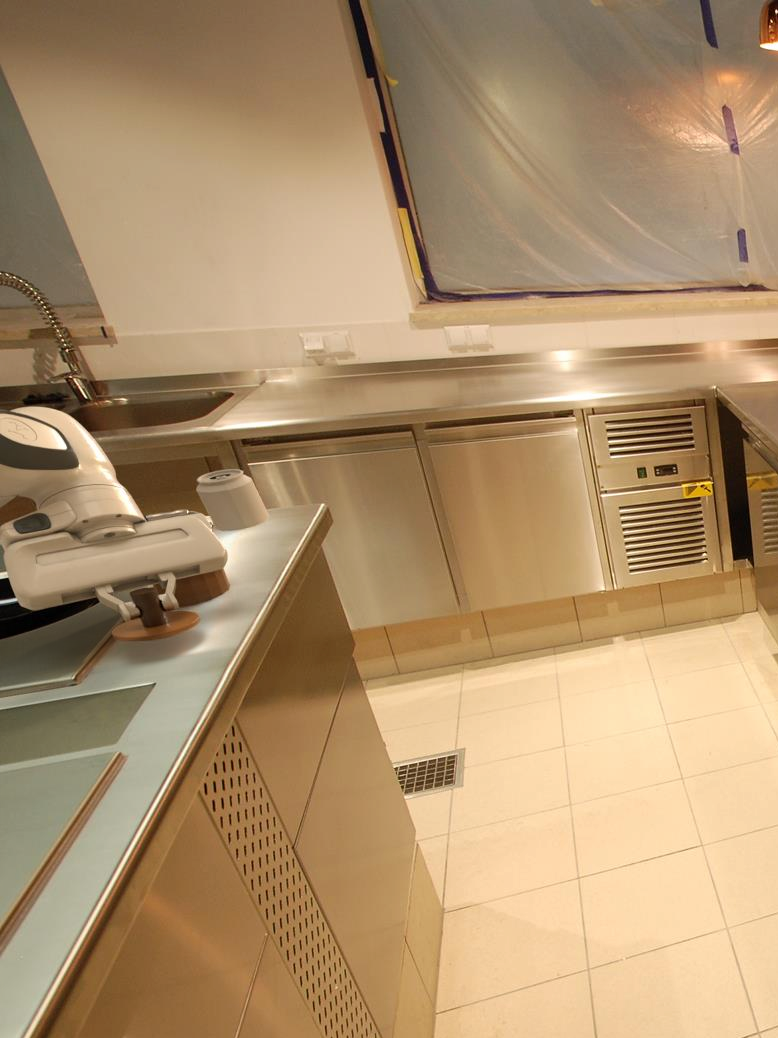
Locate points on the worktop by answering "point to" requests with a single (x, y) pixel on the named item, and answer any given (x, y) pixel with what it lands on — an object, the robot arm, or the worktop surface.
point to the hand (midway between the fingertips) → (152, 613)
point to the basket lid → (153, 619)
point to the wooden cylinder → (198, 588)
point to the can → (231, 500)
